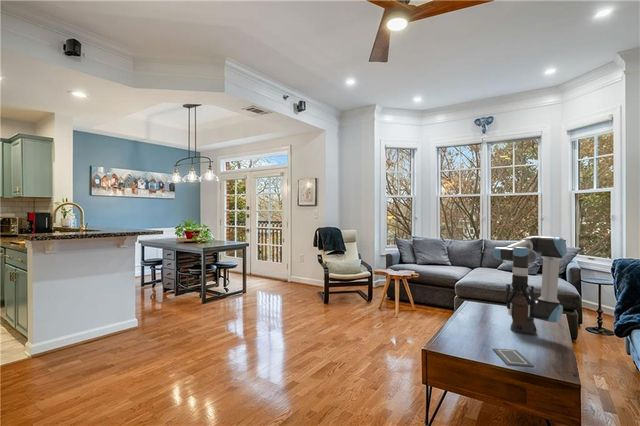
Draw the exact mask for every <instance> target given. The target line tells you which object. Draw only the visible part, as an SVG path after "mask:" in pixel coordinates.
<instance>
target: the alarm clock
mask: <svg viewBox="0 0 640 426" xmlns="http://www.w3.org/2000/svg"><path fill="white" fill-rule="evenodd" d="M511 304H512V316H511V319H512V321H513V322H514V323H515V327H516V324H523V327H525V326H524V324H526V321H527V302H526V299H525V296H524V294H523V292H521V290H519V292H517V293H516V294H515V296H514V298H513V300H512V301H511Z"/></svg>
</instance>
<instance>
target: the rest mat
mask: <svg viewBox="0 0 640 426" xmlns="http://www.w3.org/2000/svg"><path fill="white" fill-rule="evenodd" d="M492 351H493V352H494V353H495V354H496V355H498V357H499V358H500V359H501V360H502V361H503V363H505V365H507V366H514V367H528V368H534V367H535V366H534V364H532V362H530V360H528V359H527V358H526V357H525V356H524V355H523V354H522V353H521V352H519V350H517V349H507V348H492Z"/></svg>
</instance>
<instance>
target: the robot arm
mask: <svg viewBox="0 0 640 426" xmlns="http://www.w3.org/2000/svg"><path fill="white" fill-rule="evenodd" d="M492 252H493V253H492V254H493V258H494V259H495V260H499V261H508V262H512V275H511V276H512V277H511V279H512V280H511V283H506V284H505V287H506V288H505V292H504V296H503V300H502V301H503V302H505V303H506V309H507V311H508V312H507V315H509V316H511V317H512V301H513V298H514V296H515V294H516V293H517V292H519V290H521V293H523V294H524V296H525V299H526V302H527V321H526V324H524V326H525V327H523V324H516V327H515V323H514V322H513V320H512V322H511V323H510V330H511V331H512V332H514V333H517V334H519V335H520V334H521V335H526V336H536V335H537V334H538V329H537V326H536V323H535V319H536V320H539V321H540V320H541V321H544V322H548V323H554V324H556V323H559V322H560V320H561V318H562V315H563V313H564V308H563V307H564V306H563V305H561V302H560V301H559V299H558V290H559V289H558V287H559V273H560V271H559V269H560V261H561V260H563V257H566V255H567V252H568V251H567V244H566V241H565V239H564V238H563V237H558V236H547V235H546V236H545V235H532V236H527V237H523V238H521V239H519V240H518V241H517V242H515V243H512V244H509V245H507V246H504V247H501V246H498V247H497V246H495V247H494V249H493V251H492ZM538 254H540V258H541V259H542V271H541V272H542V273H541V286H540V288H541V289H540V296H539V297H537V299H535V292H534V289H535V286H534V285H531V284H530V285H529V284H528V282H529V276H528V275H529V264H532V263H535V262H536V261H537V260H538ZM511 288H512V290H511ZM527 289H528V291H527ZM510 291H511V292H510ZM528 293H529V294H528Z"/></svg>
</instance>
